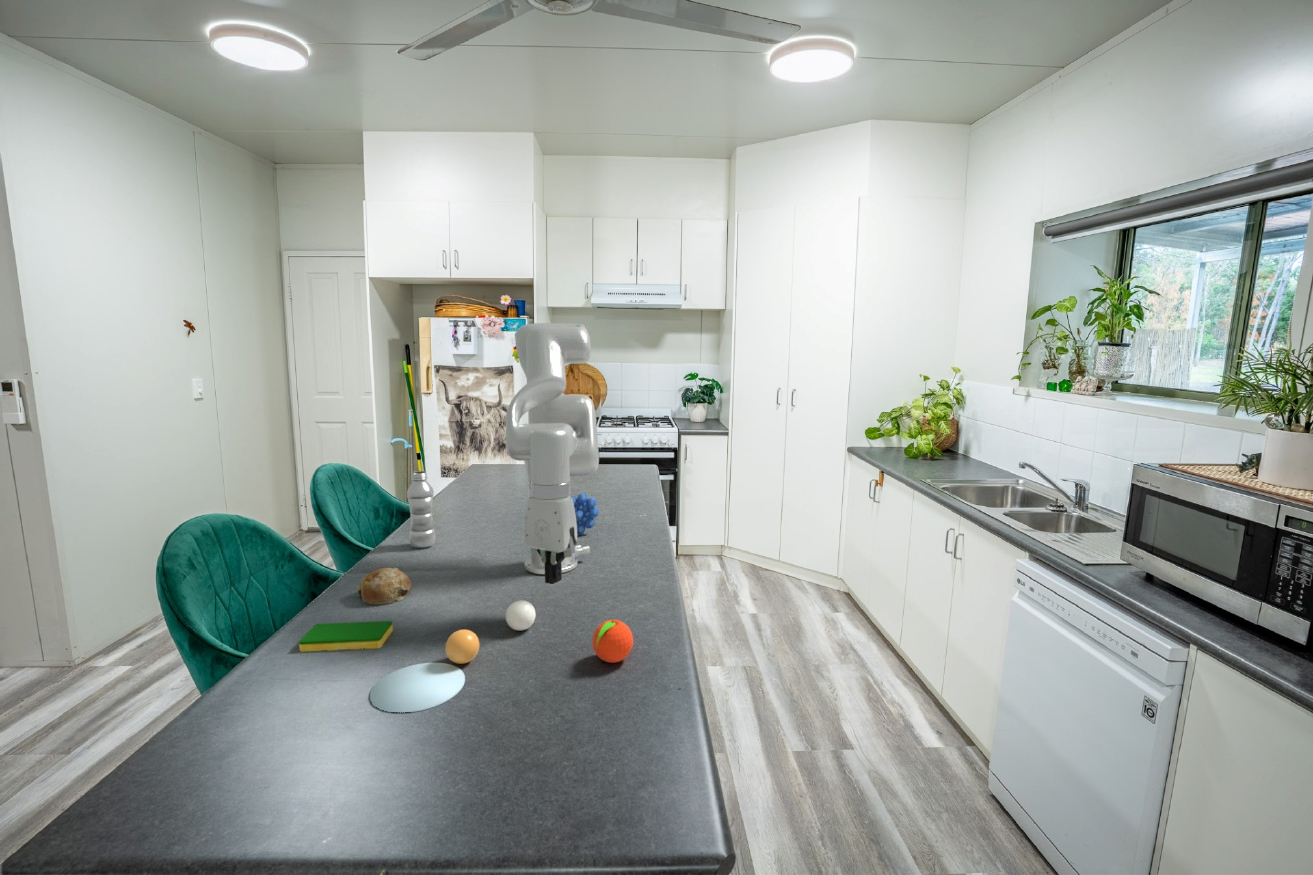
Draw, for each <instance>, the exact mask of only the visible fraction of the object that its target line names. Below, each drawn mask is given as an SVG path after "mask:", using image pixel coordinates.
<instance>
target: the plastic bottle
mask: <svg viewBox="0 0 1313 875" xmlns="http://www.w3.org/2000/svg"><path fill="white" fill-rule="evenodd" d="M410 480H411V481H412V482H411V484H410V485H409V487H408V489H407V491H406V496H407V497H406V498H407V501H408V506H409V513H410V514H409V515H410V526H409V528H410V530H409V534H408V540H409V543H410V545H411V546H412V548H413V547H414V548H419V549H420V548H427V547H428V548H429V547H431V546H433V545H434V544H435V542H437V541H436V539H437V534H436V529H435V526H434V525H435V524H434V519H433V503H434V494H435V493H434V488H433V487H432V485H431V484H430V482H428V481H427V480H428V474H427V471H424V470H420V471H419V470H417V471H412V472H411V473H410Z"/></svg>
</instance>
